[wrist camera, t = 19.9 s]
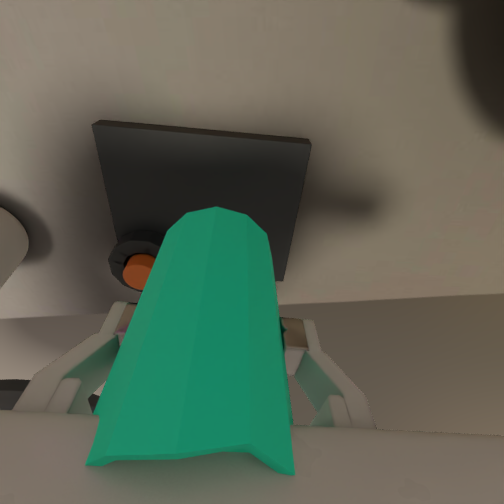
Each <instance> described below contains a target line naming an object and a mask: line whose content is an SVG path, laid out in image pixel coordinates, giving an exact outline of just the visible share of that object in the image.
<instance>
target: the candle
mask: <svg viewBox="0 0 504 504" xmlns="http://www.w3.org/2000/svg"><path fill="white" fill-rule="evenodd" d="M279 317H280V316H279V309H278V301H277V293H276V285H275V278H274V270H273V262H272V255H271V251H270V246H269V241H268V237H267V233H266V232H264V231H263V230H262V229H261V228H260V227H259V226H258V225H257V224H256V223H255V222H254V221H253V220H252V219H251V218H250V217H249V216H248V215H246V214H242V213H239V212H235V211H231V210H228V209H224V208H220V207H212V208H207V209H202V210H198V211H193V212H188V213H186V214H185V215H184V216H183V217H182V218H181V219H179V220H178V221H177V222H176V223H175V224H174V225H173V226H172V227H171V228H170V229H169V230H168V231H167V233H166V235H165V238H164V240H163V242H162V245H161V247H160V250H159V252H158V255H157V257H156V260H155V262H154V265H153V267H152V270H151V272H150V275H149V277H148V279H147V282H146V284H145V287H144V289H143V292H142V294H141V297H140V299H139V302H138V304H137V307H136V309H135V311H134V314H133V316H132V319H131V321H130V324H129V326H128V329H127V331H126V334H125V336H124V339H123V341H122V344H121V346H120V348H119V351H118V353H117V356H116V358H115V361H114V363H113V366H112V368H111V371H110V373H109V376H108V378H107V380H106V383H105V386H104V388H103V391H102V393H101V395H100V398H99V400H98V403H97V405H96V408H95V410H94V413H93V415H99V424H98V427H97V431H96V435H95V438H94V442H93V445H92V447H91V450H90V453H89V455H88V458H87V460H86V463H85V465H86V466H104V465H106V464H108V463H111V462H113V461H115V460H170V459H182V458H188V457H194V456H200V455H206V454H212V453H217V452H246V453H251V454H252V455H254V456H255V457H256V458H258V459H259V460H261V461H262V462H263V463H265V464H266V465H268V466H269V467H270V468H272V469H273V470H275V471H276V472H277V473H280V474H286V475H295V468H294V459H293V451H292V441H291V431H290V425H293V419H292V411H291V402H290V395H289V387H288V379H287V371H286V363H285V355H284V351H283V343H282V333H281V328H280V320H279Z"/></svg>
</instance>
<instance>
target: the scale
mask: <svg viewBox="0 0 504 504" xmlns="http://www.w3.org/2000/svg"><path fill="white" fill-rule="evenodd" d="M92 129H93V133H94V138H95V142H96V147H97V151H98V156H99V160H100V165H101V169H102V173H103V178H104V182H105V187H106V191H107V196H108V200H109V205H110V209H111V214H112V218H113V223H114V227H115V232H116V236H117V240H118V243H117V244H116V246H115V247H114V249H113V251H112V253H111V255H110V257H109V264H110V268H111V272H112V274H113V275H114V276H115V277H116V278H117V279H118V280H119V281H120V282H121V283H122V284H123V285H124V286H127V287H129V288H131V289H134V290H136V291H138V292H143V290H139V289H135V288H133V287H131V286H130V285H128V284H127V283H126V282H125V280H124V278H123V271H124V269H125V267H126V265H127V263H128V261H129V259H130V258H131V257H132V256H134V255H136V254H148V255H151V256H153V257H155V258H156V257H157V255H158V252H159V250H160V247H161V245H162V242H163V240H164V238H165V235H166V233H167V231H168V230H169V229H170V228H171V227H172V226H173V225H174V224H175V223H176V222H177V221H178V220H179V219H181V218H182V217H183V216H184V215H185V214H186V213H188V212H193V211H198V210H202V209H207V208H212V207H220V208H224V209H228V210H231V211H235V212H239V213H242V214H246V215H248V216H249V217H250V218H251V219H252V220H253V221H254V222H255V223H256V224H257V225H258V226H259V227H260V228H261V229H262V230H263V231H264V232H266V233H267V237H268V241H269V246H270V251H271V255H272V262H273V270H274V278H275V281H283V279H284V275H285V270H286V265H287V260H288V256H289V251H290V246H291V241H292V237H293V232H294V227H295V222H296V218H297V213H298V208H299V203H300V198H301V194H302V189H303V184H304V179H305V175H306V170H307V165H308V160H309V156H310V151H311V146H312V144H311V142H310V141H309V139H303V138H292V137H281V136H270V135H259V134H248V133H237V132H226V131H216V130H205V129H194V128H183V127H172V126H161V125H150V124H139V123H129V122H118V121H107V120H99V121H97V122H95V123H93V124H92Z"/></svg>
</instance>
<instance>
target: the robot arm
mask: <svg viewBox="0 0 504 504" xmlns="http://www.w3.org/2000/svg"><path fill="white" fill-rule="evenodd" d="M137 304H138V303H130V302H120V301H115V303H114V304H113V305H112V307H111V309H110V311H109V313H108V315H107V317H106V319H105V321H104V323H103V325H102V327H101V329H100V331H99V333H94V334H92V335H91V336H90V337H88V338H87V339H85V340H84V341H83V342H81V343H79V344H78V345H76V346H75V347H74V348H72V349H71V350H69V351H68V352H66V353H65V354H63V355H62V356H61V357H59V358H58V359H56V360H55V361H53V362H52V363H50V364H49V365H47V366H46V367H45V368H43V369H42V370H40V371H39V372H37V373H36V374H35V375H34V376H33V378H32V380H31V381H30V382H29V384H28V386H27V387H26V389H25V390H24V392H23V393H22V395H21V397H20V398H19V400H18V401H17V403H16V404H15V406H14V408H13V409H12V410H0V504H504V436H500V435H482V434H461V433H442V432H423V431H403V430H384V429H382V430H381V429H377V428H376V425H375V422H374V419H373V416H372V413H371V410H370V407H369V404H368V401H367V398H366V396H365V395H364V394H363V393H362V392H361V391H360V390H359V388H358V387H357V386H356V385H355V384H354V383H353V382H352V381H351V380H350V379H349V378H348V376H347V375H346V374H345V373H344V372H343V371H342V370H341V369H340V368H339V367H338V366H337V365H336V364H335V362H333V360H332V359H331V358H330V357H329V356H328V355H327V354H326V353H325V352H322V350H321V347H320V343H319V339H318V335H317V331H316V327H315V323H314V321H313V320H307V319H297V318H285V317H279V320H280V328H281V333H282V343H283V351H284V355H285V363H286V371H287V375H292V376H294V377H295V379H296V380H297V382H298V384H299V385H300V387H301V388H302V390H303V391H304V393H305V394H306V396H307V397H308V399H309V400H310V402H311V403H312V405H313V406H314V408H315V409H316V411H317V412H318V413H317V415H316V416H315V418H314V419H313V421H312V422H311V424H310V426H305V425H290V431H291V441H292V451H293V459H294V468H295V475H286V474H280V473H277V472H276V471H275V470H273V469H272V468H270V467H269V466H268V465H266V464H265V463H263V462H262V461H261V460H259V459H258V458H256V457H255V456H254V455H252V454H251V453H246V452H217V453H212V454H206V455H200V456H194V457H188V458H182V459H170V460H115V461H113V462H111V463H108V464H106V465H104V466H86V465H85V463H86V460H87V458H88V455H89V453H90V450H91V447H92V445H93V442H94V438H95V435H96V431H97V427H98V424H99V415H93V413H92V410H91V407H90V405H89V402H88V398H89V397H90V396H91V395H92V394H93V393H94V392H95V391H96V390H97V389H98V388H99V387H100V386H101V385H102V384H103V383H104V382H105V381H106V380H107V378H108V376H109V373H110V371H111V368H112V366H113V363H114V361H115V358H116V356H117V353H118V351H119V348H120V346H121V344H122V341H123V339H124V336H125V334H126V331H127V329H128V326H129V324H130V321H131V319H132V316H133V314H134V311H135V309H136V307H137Z"/></svg>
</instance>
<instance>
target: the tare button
mask: <svg viewBox="0 0 504 504" xmlns="http://www.w3.org/2000/svg"><path fill="white" fill-rule="evenodd" d="M155 260H156V258H155V257H153V256H151V255H148V254H136V255H134V256H132V257H131V258H130V259H129V261H128V263H127V265H126V267H125V269H124V271H123V278H124V280H125V282H126V283H127V284H128V285H130V286H131V287H133V288H135V289H139V290H143V289H144V287H145V284H146V282H147V279H148V277H149V275H150V272H151V270H152V267H153V265H154V262H155Z"/></svg>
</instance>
